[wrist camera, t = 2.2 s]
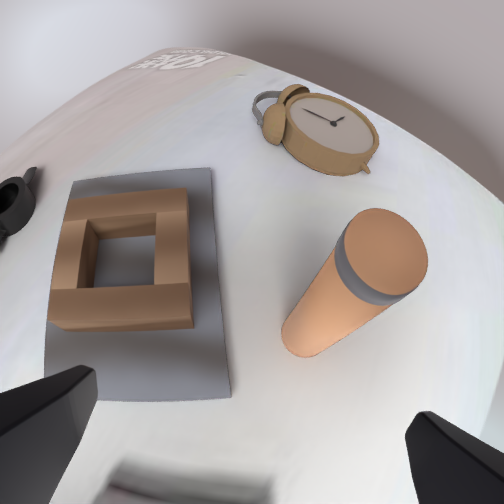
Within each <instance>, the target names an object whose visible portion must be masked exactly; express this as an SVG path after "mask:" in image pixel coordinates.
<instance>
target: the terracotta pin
mask: <svg viewBox="0 0 504 504" xmlns="http://www.w3.org/2000/svg"><path fill="white" fill-rule="evenodd" d="M427 267H428V257H427V251H426V248H425V245H424V243H423V240H422V239H421V237H420V235H419V234H418V232H417V231H416V230H415V228H414V227H413V226H412V225H411V224H410V223H409V222H408V221H407V220H405V219H404V218H403V217H401V216H400V215H398V214H396V213H394V212H391V211H388V210H385V209H378V208H373V209H367V210H364V211H362V212H360V213H358V214H357V215H356V216H355V217H354V218H353V219H352V220H351V221H350V222H349V223H348V225H347V226H346V228H345V230H344V231H343V233H342V235H341V236H340V238H339V240H338V241H337V244H336V246H335V248H334V249H333V251H332V253H331V254H330V256H329V257H328V259H327V260H326V262H325V263H324V265H323V266H322V268H321V269H320V271H319V272H318V274H317V276H316V277H315V279H314V280H313V281H312V283H311V284H310V286H309V287H308V289H307V290H306V292H305V293H304V295H303V296H302V298H301V299H300V301H299V302H298V304H297V305H296V306H295V308H294V309H293V311H292V312H291V314H290V315H289V316H288V318H287V319H286V321H285V322H284V324H283V327H282V332H281V335H282V341H283V343H284V345H285V347H286V348H287V349H288V350H289V351H290V352H291V353H292V354H294V355H296V356H299V357H312V356H315V355H317V354H318V353H320V352H322V351H323V350H325V349H327V348H328V347H330V346H332V345H333V344H335V343H336V342H338V341H339V340H341V339H343V338H344V337H346V336H347V335H349V334H350V333H352V332H353V331H355V330H356V329H358V328H359V327H361V326H362V325H364V324H365V323H367V322H368V321H370V320H371V319H373V318H374V317H376V316H377V315H378V314H380V313H381V312H383V311H384V310H386V309H387V308H388V307H390V306H391V305H393V304H394V303H397V302H398V301H400V300H401V299H403V298H404V297H405V296H407V295H408V294H409V293H411V292H412V291H413V290H415V289H416V288H417V287H418V285H419V284H420V283H421V282H422V280H423V279H424V277H425V275H426V272H427Z"/></svg>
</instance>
